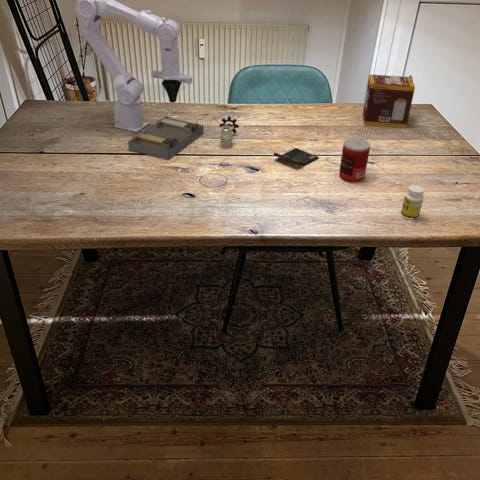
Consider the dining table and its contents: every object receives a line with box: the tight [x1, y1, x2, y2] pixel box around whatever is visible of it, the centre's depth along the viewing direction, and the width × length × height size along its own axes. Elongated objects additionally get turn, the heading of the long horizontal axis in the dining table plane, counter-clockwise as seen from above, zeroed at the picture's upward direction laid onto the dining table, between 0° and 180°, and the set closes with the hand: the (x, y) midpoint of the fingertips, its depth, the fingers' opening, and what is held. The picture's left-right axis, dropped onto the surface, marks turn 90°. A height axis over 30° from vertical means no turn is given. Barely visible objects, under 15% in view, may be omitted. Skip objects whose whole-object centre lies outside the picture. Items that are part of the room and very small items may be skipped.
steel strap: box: [160, 118, 194, 131], centre depth 181 cm, size 12×3×1 cm, turn 65°
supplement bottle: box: [400, 184, 425, 219], centre depth 141 cm, size 5×5×8 cm
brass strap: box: [137, 133, 172, 146], centre depth 171 cm, size 12×3×1 cm, turn 65°
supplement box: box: [362, 73, 416, 129], centre depth 193 cm, size 10×15×16 cm
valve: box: [219, 116, 240, 149], centre depth 178 cm, size 7×7×12 cm
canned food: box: [338, 137, 371, 183], centre depth 158 cm, size 8×8×11 cm
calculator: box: [273, 147, 320, 168], centre depth 169 cm, size 9×12×3 cm
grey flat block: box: [127, 115, 204, 161], centre depth 177 cm, size 15×23×5 cm, turn 155°
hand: (173, 101), depth 180 cm, fingers closed
